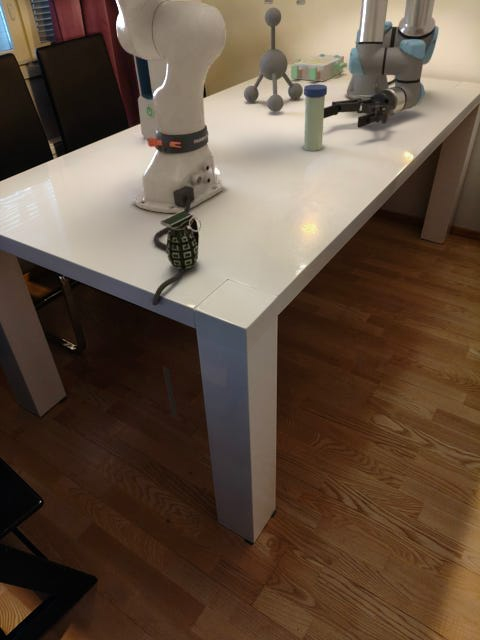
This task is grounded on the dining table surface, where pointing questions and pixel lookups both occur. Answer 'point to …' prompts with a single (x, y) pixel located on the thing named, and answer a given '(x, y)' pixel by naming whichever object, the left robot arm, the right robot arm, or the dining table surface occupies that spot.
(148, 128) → the electronic device
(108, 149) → the dining table surface
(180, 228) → the grenade
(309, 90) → the lid
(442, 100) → the dining table surface
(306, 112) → the jar
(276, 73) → the molecular model
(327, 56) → the decorative block
